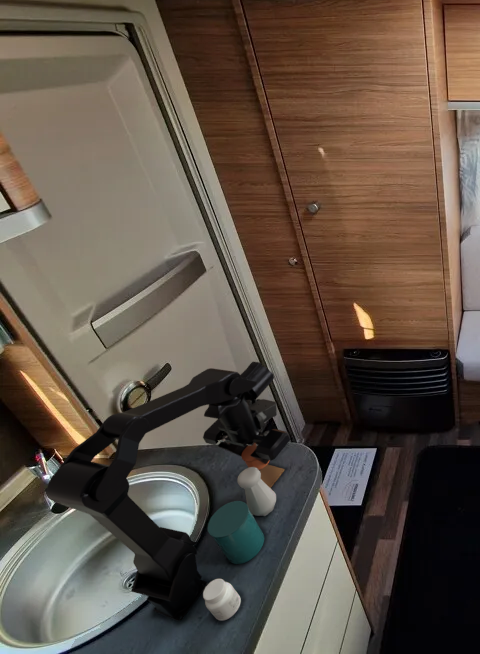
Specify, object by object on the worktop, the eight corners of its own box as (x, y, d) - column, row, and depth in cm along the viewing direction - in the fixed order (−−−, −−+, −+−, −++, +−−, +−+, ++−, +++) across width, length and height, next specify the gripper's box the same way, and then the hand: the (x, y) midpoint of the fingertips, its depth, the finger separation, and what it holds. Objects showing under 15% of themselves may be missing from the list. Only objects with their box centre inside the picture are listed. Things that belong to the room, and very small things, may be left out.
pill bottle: (237, 588, 82) (223, 569, 78) (244, 607, 80) (230, 589, 76) (212, 607, 80) (196, 588, 76) (218, 627, 77) (203, 609, 73)
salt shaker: (271, 520, 93) (253, 487, 87) (246, 520, 94) (226, 486, 87) (283, 495, 98) (266, 462, 92) (259, 495, 98) (241, 461, 92)
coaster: (268, 490, 99) (268, 489, 99) (249, 485, 101) (248, 484, 100) (284, 470, 104) (284, 469, 104) (266, 464, 105) (265, 463, 105)
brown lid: (260, 473, 96) (254, 463, 94) (241, 468, 97) (236, 458, 95) (276, 454, 101) (271, 444, 98) (258, 450, 102) (253, 439, 100)
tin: (247, 569, 85) (228, 541, 79) (219, 559, 87) (198, 531, 81) (272, 533, 91) (256, 505, 85) (245, 525, 93) (227, 497, 87)
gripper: (296, 396, 95) (313, 440, 103) (230, 381, 99) (251, 424, 107) (261, 436, 86) (282, 481, 94) (189, 417, 90) (215, 462, 98)
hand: (258, 459), depth 99 cm, fingers closed on brown lid, 5 cm apart
